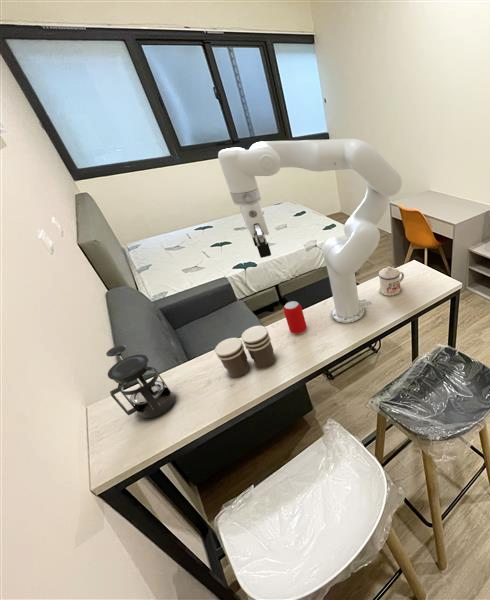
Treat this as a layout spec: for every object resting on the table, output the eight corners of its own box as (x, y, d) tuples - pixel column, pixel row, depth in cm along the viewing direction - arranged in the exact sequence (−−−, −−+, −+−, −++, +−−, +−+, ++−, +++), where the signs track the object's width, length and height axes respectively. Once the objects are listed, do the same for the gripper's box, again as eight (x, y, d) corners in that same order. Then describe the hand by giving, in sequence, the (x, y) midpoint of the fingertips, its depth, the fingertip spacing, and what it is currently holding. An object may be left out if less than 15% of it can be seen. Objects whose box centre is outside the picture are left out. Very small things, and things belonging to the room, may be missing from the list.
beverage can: (307, 334, 119) (299, 308, 112) (290, 337, 118) (281, 311, 112) (307, 324, 124) (300, 298, 117) (291, 326, 123) (283, 301, 117)
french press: (173, 387, 101) (135, 331, 88) (182, 403, 96) (144, 346, 82) (129, 411, 94) (81, 354, 81) (136, 430, 89) (86, 372, 76)
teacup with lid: (387, 298, 136) (385, 275, 129) (376, 290, 142) (373, 266, 135) (410, 288, 141) (409, 265, 135) (398, 280, 148) (396, 258, 141)
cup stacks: (275, 350, 113) (265, 322, 106) (279, 364, 107) (268, 336, 100) (226, 366, 107) (212, 338, 100) (227, 382, 102) (212, 353, 95)
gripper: (265, 201, 87) (281, 257, 97) (254, 187, 100) (269, 238, 109) (235, 206, 84) (255, 264, 94) (228, 191, 97) (246, 244, 106)
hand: (263, 250), depth 102 cm, fingers open, 9 cm apart
